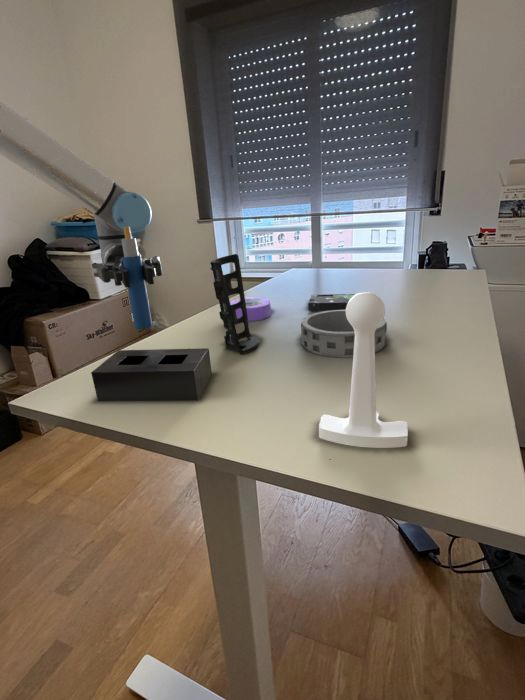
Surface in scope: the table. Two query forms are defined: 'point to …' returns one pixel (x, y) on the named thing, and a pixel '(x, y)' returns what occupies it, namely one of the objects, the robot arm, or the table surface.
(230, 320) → the holder
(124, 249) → the soldering iron
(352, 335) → the ring
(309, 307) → the disk drive
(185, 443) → the table surface
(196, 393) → the two-slot black box
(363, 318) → the joystick
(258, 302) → the tape roll
